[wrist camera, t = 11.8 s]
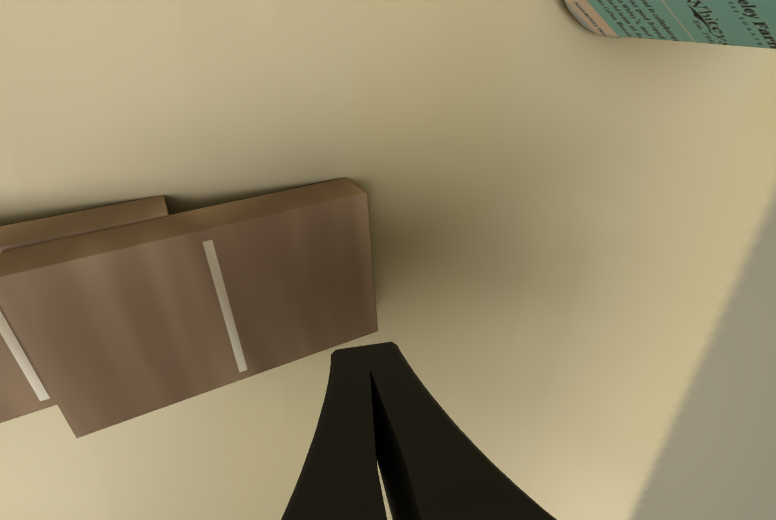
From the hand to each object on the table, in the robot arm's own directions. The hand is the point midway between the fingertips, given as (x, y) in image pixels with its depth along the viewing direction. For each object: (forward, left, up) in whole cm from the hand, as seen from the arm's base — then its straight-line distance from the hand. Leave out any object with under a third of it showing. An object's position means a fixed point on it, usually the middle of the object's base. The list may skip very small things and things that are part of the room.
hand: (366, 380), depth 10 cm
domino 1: (0, -1, -6) cm, 6 cm away
